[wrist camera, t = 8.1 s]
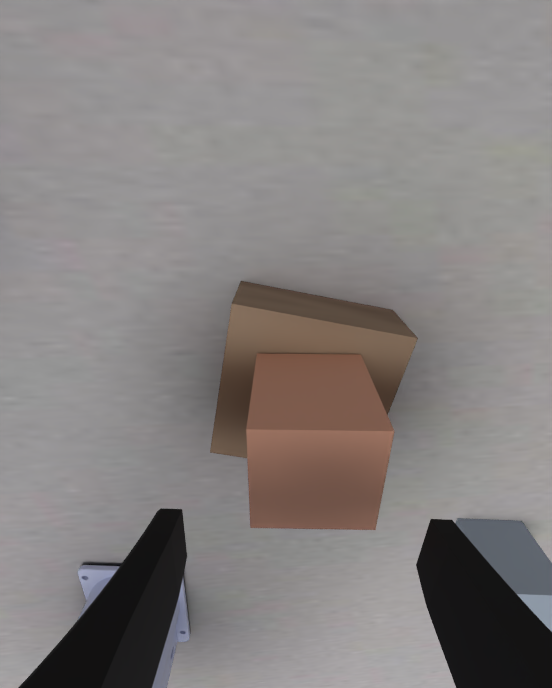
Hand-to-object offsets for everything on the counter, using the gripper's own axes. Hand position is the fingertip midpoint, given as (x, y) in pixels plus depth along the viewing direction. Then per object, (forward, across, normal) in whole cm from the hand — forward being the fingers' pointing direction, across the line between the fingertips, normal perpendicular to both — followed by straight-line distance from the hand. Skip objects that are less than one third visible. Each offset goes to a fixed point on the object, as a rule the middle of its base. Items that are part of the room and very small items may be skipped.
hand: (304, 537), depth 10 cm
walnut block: (+11, 0, 0) cm, 11 cm away
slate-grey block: (+10, -14, +14) cm, 23 cm away
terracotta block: (+7, 0, 0) cm, 7 cm away
